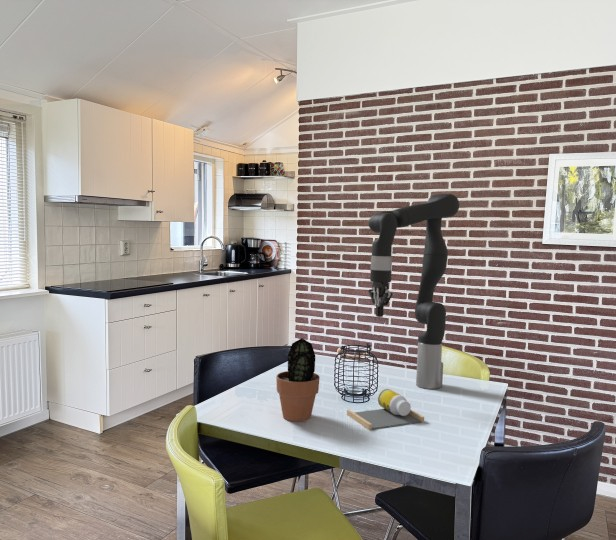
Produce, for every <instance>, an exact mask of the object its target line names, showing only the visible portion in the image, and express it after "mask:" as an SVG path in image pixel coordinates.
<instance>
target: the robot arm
mask: <svg viewBox="0 0 616 540" xmlns="http://www.w3.org/2000/svg"><path fill="white" fill-rule="evenodd" d="M459 209H460V201H459V199H458V197H457V196H456V195H454V194H452V193H440V194H439V193H437V194H433V195H431V196H430V197H429V198H428V201H427V202H425V203H420V204H412V205H407V206H403V207H399V208H397V209H393V210H387V211H381V212H377V213H374V214H373V215H371V217H370V218H369V220H368V227H369V229H370V230H371V231H372V232H374V233H377V234H379V236H378V238H377V239H374V240H373V241H372V244H371V260H370V272H369V273H370V274H369V275H370V278H369V280H370V282H371V283H372V285H371V286H372V287H371V289H368V293H369V296H370V300H371V303H372V304H373V305H374V306H375V317H378V318H383V317H384V308H385V306H388V304H389V302H390V301H391V299H392V297H393V292H390V290H389V289H390V287H389V283H391V282H392V272H393V271H392V270H393V269H392V268H393V267H392V266H393V262H392V261H393V260H392V252H393V251H392V249H393V248H392V247H393V242H394V239H395V236H396V234H397V233H396V232H397V229H398V228H405V227H409V226H412V225H415V224H419V223H421V222H426V223H425V226H426V227H425V238H424V240H425V242H424V248H423V254H422V255H423V257H422V267H421V275H420V276H421V277H420V281H419V282H420V283H419V289H418V293H417V298H416V301H415V302H416V303H415V306H414V307H415V308H414V316H415V317H414V318H415V319H416V321H417V322H418V323H419V324H423V325H427V326H426V330H425V332H422V333H419V335H418V336H417V352H416V353H417V357H416V358H417V359H416V376H415V377H416V378H415V380H416V381H415V385H416V386H417V387H419V388H422V389H429V390H436V389H439V388H441V387H443V381H444V380H443V378H444V377H443V376H444V362H443V361H442V357H443V356H442V353H443V352H442V351H443V339H444V336H445V332H446V322H447V309H446V307H445V305H444V304H443V303H441V302H437V301H433V299H434V293H435V289H436V287H437V285H438V283H439V282H440V281H441V279H442V278H443V276H444V274H445V272H446V270H447V265H448V257H449V256H448V255H449V251H448V247H447V244H446V242H445V239H444V236H443V234H442V220H443V219H445V218H446V219H448V218H452V217H454V216H456V215H457V214H458V212H459Z"/></svg>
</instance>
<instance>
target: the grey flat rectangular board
mask: <svg viewBox="0 0 616 540" xmlns="http://www.w3.org/2000/svg"><path fill="white" fill-rule="evenodd" d="M346 415H347V416H348V417H349V416H350V417H349V418H351V419H353V420H354V421H355V422H357V423H358V424H360V425H361V426H363V427H364V428H366V429H367V430H369V431H371V430H378V429H384V428H385V429H386V428H391V427H400V426H404V425H405V426H407V425H411V424H419V423H425V416H424V415H422V414H420V413H418V412H416V411H414V410H413V409H411V410H410V412H409V413H408V414H407V415H405V416H402V415H395V414H393V413H391V412H389V411H388V410H386V409H384V408H379V409H371V410H364V411H362V410H361V411H355V412H354V411H353V410H352V409H346Z"/></svg>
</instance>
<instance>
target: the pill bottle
mask: <svg viewBox="0 0 616 540" xmlns="http://www.w3.org/2000/svg"><path fill="white" fill-rule="evenodd" d="M377 402H378V405H379V406H380V407H381V408H382V409H386V410H388V411H389V412H391V413H393V414H395V415H402V416H405V415H407V414H408V413H409V412H410V410H412V408H411V403H410V402H409V401H407V399H406V397H404V396H403V395H402V394H400V393H398V392H396V391H394V390H392V389H389V388H386V389H383V390H381V391H380V392H379V393H378V396H377Z"/></svg>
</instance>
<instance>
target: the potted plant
mask: <svg viewBox="0 0 616 540" xmlns="http://www.w3.org/2000/svg"><path fill="white" fill-rule="evenodd" d="M288 351H289V352H288V354H287V370H286V371H283V372H282V371H281V372H279V373H277V374H276V376H275V377H276V392H277V394H278V395H279V396H278V397H279V401H280V408H281V412H282V417H283V419H285V420H286V421H290V422H297V423H299V422H307V421H309V420H310V419H311V418H312V415H313V414H312V413H313V409H314V406H315V400H316V395H317V394H319V389H320V388H319V387H320V377H321V376H320V375H319V374H318V373H315V371H316V354H315V350H314V348H313V344H312V343H311V342H309V341H307V340H306V339H304V338H303V337H302V338H300V339H297V340H296V341H294V342H292V343H291V346H290V349H289V350H288Z"/></svg>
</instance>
